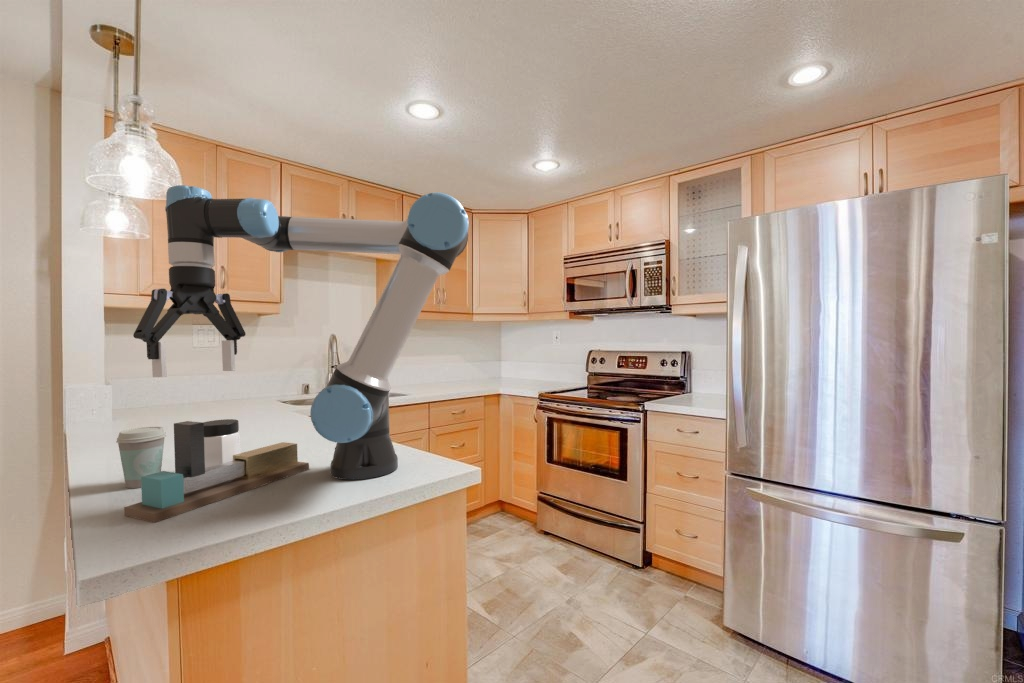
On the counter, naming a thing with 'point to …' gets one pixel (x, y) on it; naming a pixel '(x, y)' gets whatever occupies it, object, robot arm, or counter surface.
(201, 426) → the steel bar
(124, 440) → the coffee cup
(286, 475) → the walnut board
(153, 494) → the teal socket
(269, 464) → the brass sleeve
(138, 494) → the counter surface
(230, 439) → the jar
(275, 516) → the counter surface
